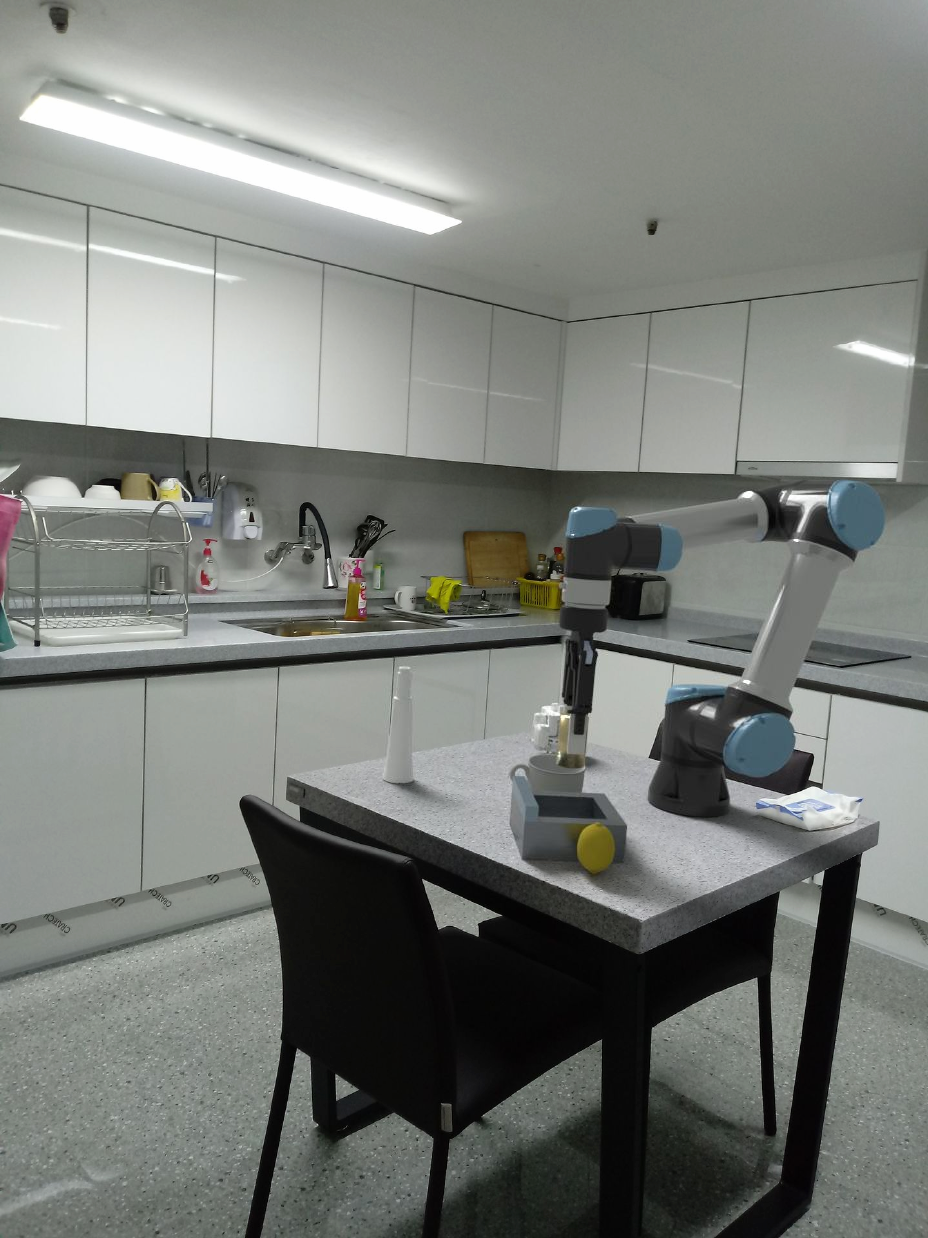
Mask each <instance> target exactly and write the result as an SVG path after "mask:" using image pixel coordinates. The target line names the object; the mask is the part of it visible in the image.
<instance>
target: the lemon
mask: <svg viewBox="0 0 928 1238" xmlns="http://www.w3.org/2000/svg"><path fill="white" fill-rule="evenodd" d="M614 853H615V844H614V838H613V836H612V834H611V832H610V831H609V830H608V829H607V828H606V827H605V826H603V825H601V823H598V822H596V823H595V824H592V825H590V826H588V827H586V828H585V829H584V830H583V831H582V833H581V834H580V837H579V840H578V845H577V855H578V859H579V861H578V862H580V864H581V866H582V867H583V868H584V869H586V870H588V871H589V873H590V874H591V873H592V875H594V874H595V875H597V874H598V873H599V872H603V871H606V869H607V868H609V867H610V866H611V864H612V863H613V862H612V860H613V857H614Z"/></svg>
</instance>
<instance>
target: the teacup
mask: <svg viewBox="0 0 928 1238" xmlns="http://www.w3.org/2000/svg"><path fill="white" fill-rule="evenodd" d="M556 757H557V754H555V753H554V754H552V753H549V754H546V753H545V754H544V753H543V754H535V755H531V756H530V757H528V759H527V764H526V763H524V762H520V761H519V762H515V763H514V764H512V765H511V767H510V769H509V772H508V773H509V774H508V775H509V779H510V780H511V782H513V776H516V771H517V770H518V769H522V770H523V771H524V773H525V774H524V776H525V778H526V780H527V783H528V785H529V787H530V789H531V790H534V791H557V792H580V793H583V787H584V779H585V773H586V768H587V767H586V765H585V766H584V767H583V768H578V769H572V768H565V767H561V766H558V765H557V764H556Z"/></svg>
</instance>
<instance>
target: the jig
mask: <svg viewBox="0 0 928 1238" xmlns="http://www.w3.org/2000/svg"><path fill="white" fill-rule="evenodd" d="M511 782H512V781H511ZM510 797H511V798H510V811H509V812H510V813H509V821H508V822H509V827H510V829H511V832H512V834H513V837H514V841H515V844H516V846H517V849H518V852H519V853H518V854H519V855H520V858H521V859H522V860H534V859H544V860H543V861H546V860H545V859H551V860H550V861H560V860H565V861H566V860H568V861H566V862H580V861H579V859H578V855H577V845H578V840H579V837H580V834H581V833H582V831H583V830H584V829H585V828H586V827H588V826H590V825H592V824H595V823H596V822H598V823H601V825H603V826H605V827H606V828H607V829H608V830H609V831H610V832H611V834H612V836H613V838H614V844H615V853H614V857H613V860H612V862H611V863H613V862H614V863H615V862H616V863H618V864H624V863H625V853H626V846H627V845H626V843H627V832H628V824H627V822H625V820H624V818H622V816H621V815H620V813H619V812H618V811H617V809H616V808H615V807H614V804H613V803H612V802H611V800H610V799H609V797H607V795H606V794H605V793H600V792H599V793H598V792H596V793H595V792H582V793H580V792H557V791H534V790H531V789H530V787H529V785H528V783H527V780H526V775H524V776H523V775H515V776H513V782H512V785H511V796H510ZM565 861H564V862H565Z"/></svg>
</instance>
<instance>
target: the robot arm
mask: <svg viewBox="0 0 928 1238" xmlns="http://www.w3.org/2000/svg"><path fill="white" fill-rule="evenodd" d="M885 513H886V512H885V507H884V506H883V502H882V499H881V497H880V495H879V494H878V492H877V491H876V490H875V488H873V487H872V486H871V485H869V484H868V483H866V482H864V481H863V482H862V481H859V480H858V481H857V480H850V479H838V480H804V479H803V480H795V481H788V482H784V483H780V484H776V485H772V486H769V487H768V486H767V487H763V488H760V489H756V490H755V489H754V490H749V491H745V492H742V493H741V494H739V496H738V497H737V498H735V499H728V500H721V501H716V502H709V503H704V504H703V503H702V504H697V505H692V506H690V505H689V506H685V507H678V508H674V509H673V508H672V509H667V510H661V511H654V512H649V513H642V514H636V515H628V516H624V517H618V514H617V511H616V510H615V509H613V508H602V507H590V506H589V507H588V506H575V507H572V508H571V510H570V511H569V513H568V520H567V525H566V532H565V538H566V539H565V548H564V549H565V551H564V552H565V553H564V564H563V578H562V581H563V582H560V583H558V588H559V589H560V590H562V591H561V601H562V602H564V604H562V605H561V606H560V610H559V621H558V625H559V627H560V629H562V630H566V631H571V633H570V637H569V638H566V639H565V641H564V644H565V653H564V654H565V656H564V666H563V667H564V668H563V677H562V678H563V680H562V681H563V682H562V690H561V697H562V700H563V704H564V705H563V706H564V711H563V713H568V714H570V718H569V730H568V742H567V754H581V755H584V753H585V741H586V730H587V718H588V717H589V714H591V713H593V712H592V711H593V702H594V701H593V699H594V690H595V689H594V688H595V678H596V666H597V661H598V657H599V653H598V650H596V649H597V645H596V643H594V634H596V633H597V634H599V633H600V634H601V633H604V632H607V628H608V617H609V610H608V608H606V606H608V605H610V600H611V589H612V574H613V570H629V571H646V572H654V573H657V572H669V571H672V570H674V569H675V568H676V567H677V565H678V564H679V563H680V562H681V559H682V555H683V551H685V550H690V549H696V548H700V547H707V546H713V545H718V544H724V543H732V542H735V541H742V540H744V541H745V542H747V543H749V544H754V543H762V542H778V543H779V542H780V543H786V545H787V548H788V549H789V552H790V558H789V560H788V563H787V566H786V568H785V570H784V572H783V575H782V577H781V580H780V583H779V585H778V587H777V590H776V592H775V595H774V596H773V599H772V602H771V604H770V606H769V609H768V612H767V614H766V617H765V619H764V622H763V623H762V626H761V628H760V631H759V633H758V636H757V639H756V640H755V642H754V645H753V648H752V650H751V653H750V656H749V658H748V660H747V663H746V665H745V668H744V671H743V672H742V675H741V677H740V679H739V680H737V681H734V682H732V683H729V684H728V686H726V685H716V684H701V683H700V684H698V683H697V684H695V683H689V684H688V683H687V684H686V683H685V684H683V683H682V684H674V685H671V686H670V687H669V688H668V690H667V692H666V693H667V694H666V699H665V703H664V707H665V708H664V719H663V721H664V722H663V729H662V730H663V732H662V742H661V755H660V761H659V763H658V766H657V768H656V770H655V772H654V774H653V776H652V779H651V781H650V784H649V786H648V791H647V801H648V802H649V803H650V804H651V805H652V806H655V807H656V808H657V809H658V808H659V809H661V810H664V811H666V812H670V813H674V814H678V815H683V816H690V817H700V818H701V817H705V818H707V817H709V818H710V817H719V816H723V815H725V814H727V813H729V811H730V805H731V804H730V803H731V796H730V792H729V791H730V790H729V787H728V783H727V778H726V774H725V769H724V767H725V768H727V769H729V770H730V771H732V772H735V773H737V774H740V775H745V776H747V777H751V778H765V777H768V776H770V775H771V774H775V773H777V772H778V771H779V770H780V769H782V768H783V767H784V766H785V765H786V764H787V763H788V761H789V760H790V759H791V756H792V755H793V752H794V750H795V746H796V741H797V740H796V739H797V738H796V737H797V736H796V735H795V733H796V731H795V727H794V726H793V723H791V721H790V720H791V718H792V715H793V713H794V708H793V707H792V704H791V702H790V696H791V693H792V691H793V689H794V686H795V684H796V681H797V679H798V677H799V674H800V672H801V669H802V667H803V664H804V662H805V659H806V657H807V654H808V651H809V649H810V646H811V644H812V642H813V639H814V637H815V635H816V633H817V630H818V627H819V625H820V623H821V620H822V617H823V615H824V613H825V610H826V608H827V605H828V603H829V600H830V598H831V596H832V592H833V590H834V588H835V585H836V583H837V581H838V579H839V576H840V574H841V572H842V571H844V570H847V569H848V568H851V567H853V566H854V563H855V561H856V559H857V557H858V554H859V552H860V551H865V550H868V549H869V548H871V546H874V545H875V544H876V543H878V541H879V540H880V539H881V536H882V534H883V532H884V529H885V528H884V527H885V524H886V523H885V522H886V514H885Z"/></svg>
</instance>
